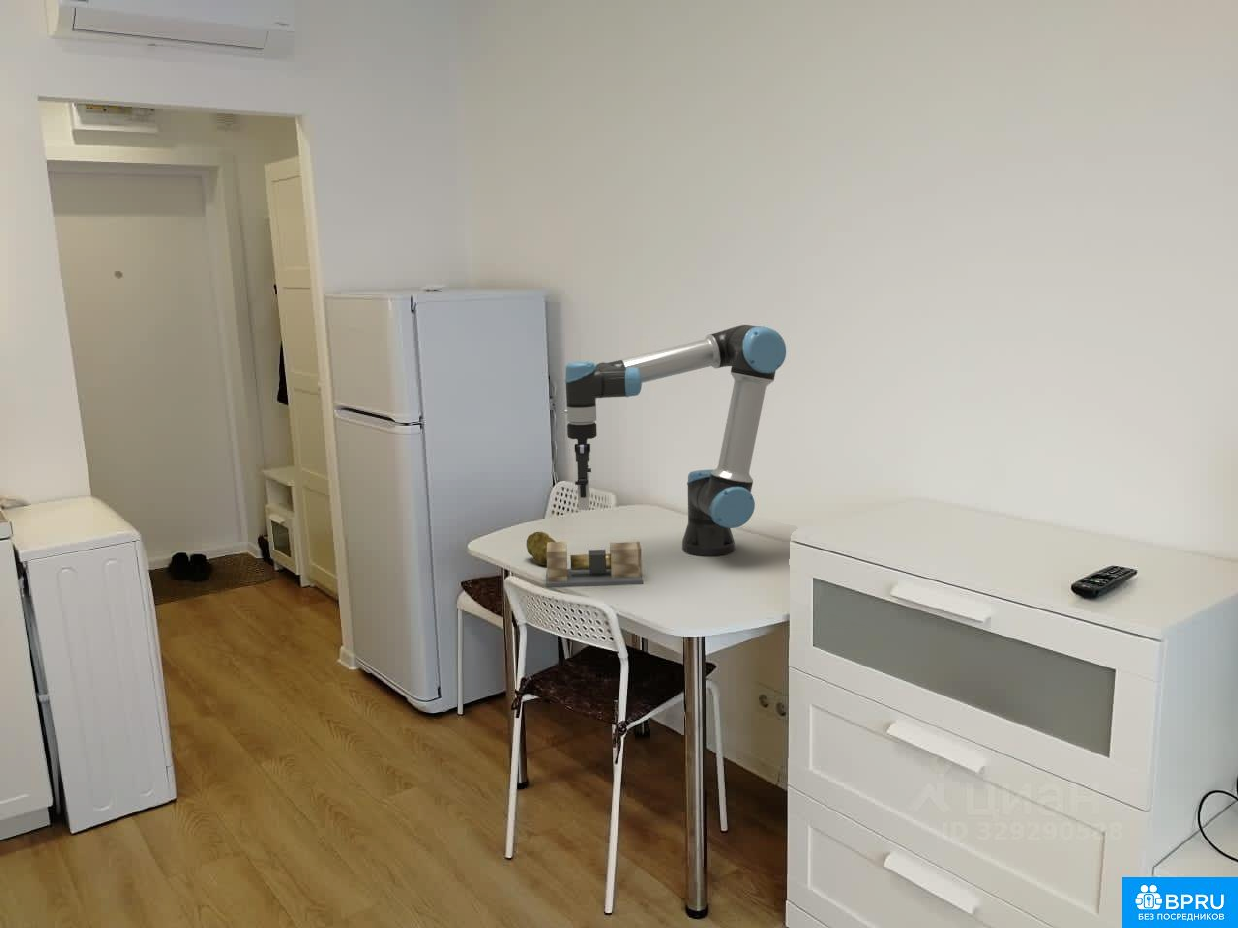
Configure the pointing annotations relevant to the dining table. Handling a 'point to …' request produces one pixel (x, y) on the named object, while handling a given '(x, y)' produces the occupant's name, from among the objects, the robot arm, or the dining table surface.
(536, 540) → the potato
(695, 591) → the dining table surface
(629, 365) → the robot arm
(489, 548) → the dining table surface
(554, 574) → the socket
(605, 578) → the board
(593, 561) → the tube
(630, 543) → the sleeve
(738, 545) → the dining table surface
